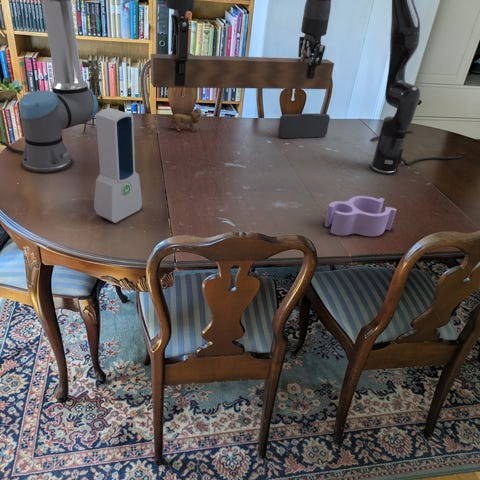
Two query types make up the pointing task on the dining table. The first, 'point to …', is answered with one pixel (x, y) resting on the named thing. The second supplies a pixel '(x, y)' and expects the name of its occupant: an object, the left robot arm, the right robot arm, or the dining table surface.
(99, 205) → the electronic device
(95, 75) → the miniature windmill
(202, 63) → the beam
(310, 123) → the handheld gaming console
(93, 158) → the dining table surface
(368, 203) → the clip
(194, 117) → the lion figurine
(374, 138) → the sword
